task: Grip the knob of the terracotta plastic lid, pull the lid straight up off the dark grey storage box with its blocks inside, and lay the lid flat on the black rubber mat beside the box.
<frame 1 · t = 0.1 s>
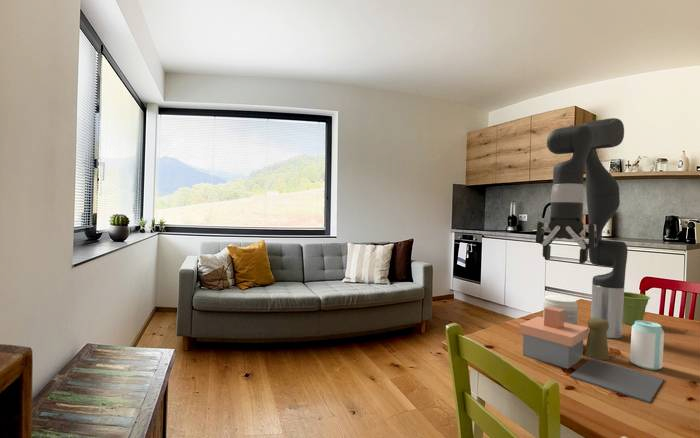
hand: (564, 261, 98), 29 cm above the table, tool pointing down, fingers open, 8 cm apart
storage box: (552, 356, 106), on the table
mat: (616, 378, 93), on the table
plant pot: (629, 323, 143), on the table
pepper mill: (596, 356, 108), on the table
supplement tub: (558, 343, 118), on the table
can: (645, 366, 102), on the table
lid: (553, 334, 106), point 6 cm above the table, touching storage box
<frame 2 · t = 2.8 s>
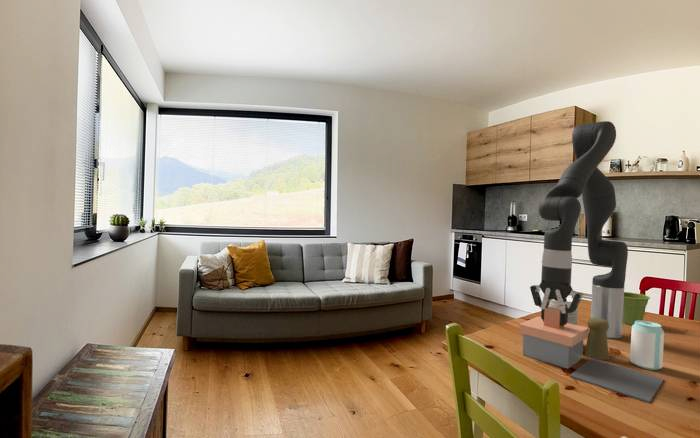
hand: (553, 323, 106), 10 cm above the table, tool pointing down, fingers closed on lid, 4 cm apart
lid: (553, 334, 106), point 7 cm above the table, touching gripper, storage box
everything else where it was.
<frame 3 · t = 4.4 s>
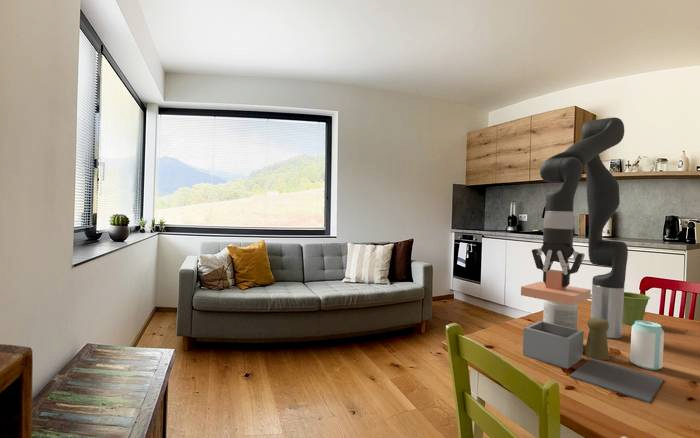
hand: (555, 285, 106), 21 cm above the table, tool pointing down, fingers closed on lid, 4 cm apart
lid: (555, 296, 106), point 18 cm above the table, touching gripper
everything else where it was.
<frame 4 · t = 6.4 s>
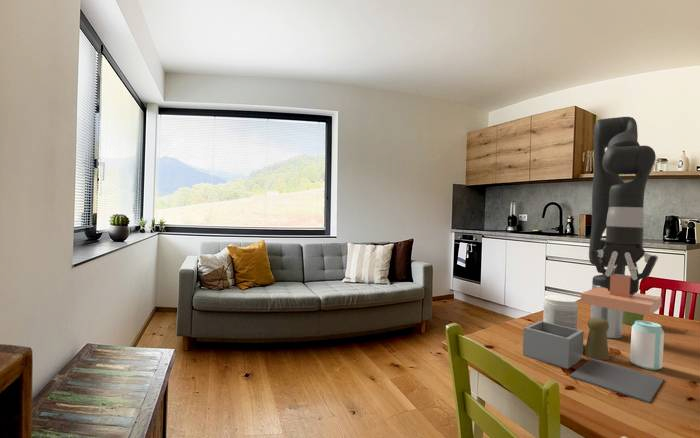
hand: (621, 292, 92), 22 cm above the table, tool pointing down, fingers closed on lid, 4 cm apart
lid: (620, 304, 92), point 19 cm above the table, touching gripper
everything else where it was.
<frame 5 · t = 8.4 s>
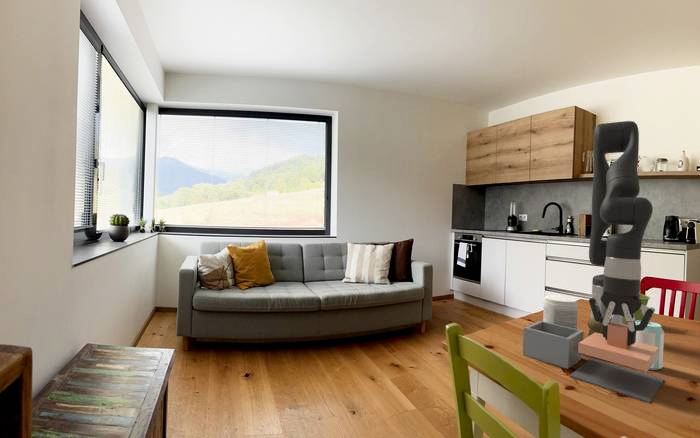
hand: (618, 342, 92), 9 cm above the table, tool pointing down, fingers closed on lid, 4 cm apart
lid: (617, 354, 92), point 6 cm above the table, touching gripper
everything else where it was.
when the fingers open (5 cm above the table, at t = 10.2 s): lid drops 1 cm, resting on mat.
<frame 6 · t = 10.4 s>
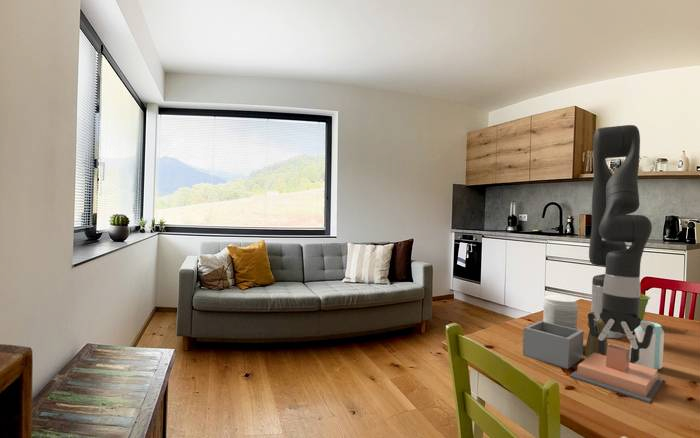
hand: (617, 358, 93), 5 cm above the table, tool pointing down, fingers open, 5 cm apart
lid: (616, 377, 93), resting on mat
everything else where it was.
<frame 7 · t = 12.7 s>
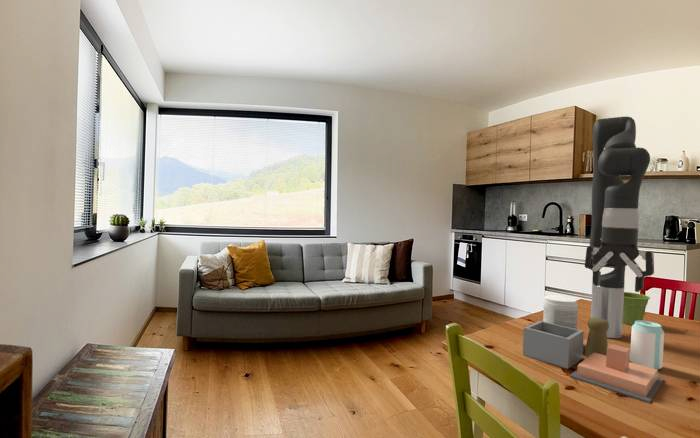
hand: (616, 288, 94), 23 cm above the table, tool pointing down, fingers open, 8 cm apart
nothing on the table moved.
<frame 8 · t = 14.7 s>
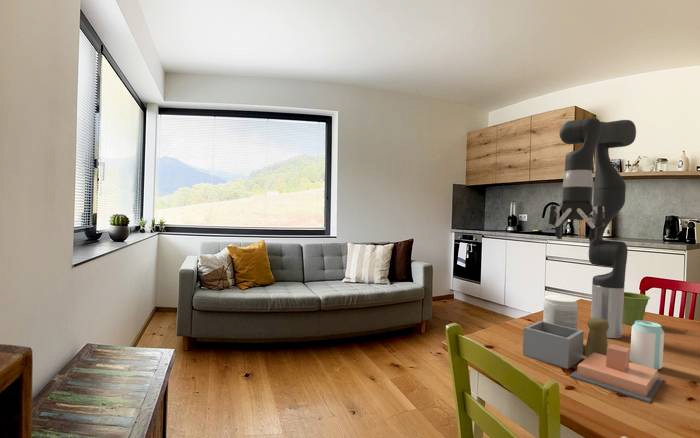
hand: (574, 240, 109), 34 cm above the table, tool pointing down, fingers open, 8 cm apart
nothing on the table moved.
at the end: lid inside the target area on the mat (0.0 cm from its centre), point 0.4 cm above the mat's base; lid tilted 0°; the gripper is holding nothing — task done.
